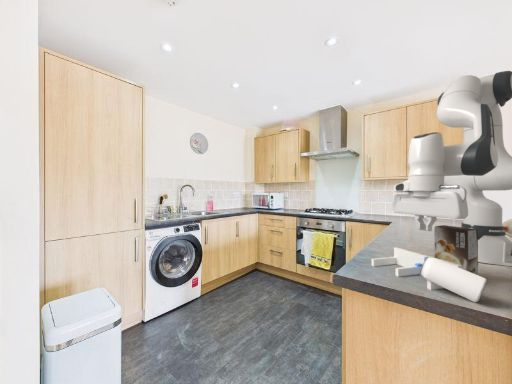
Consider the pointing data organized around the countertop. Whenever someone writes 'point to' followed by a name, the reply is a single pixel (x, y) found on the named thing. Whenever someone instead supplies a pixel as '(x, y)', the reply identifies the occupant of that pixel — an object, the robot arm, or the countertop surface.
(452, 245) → the coffee box
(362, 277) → the countertop surface
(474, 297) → the can
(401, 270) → the white pronged rack
